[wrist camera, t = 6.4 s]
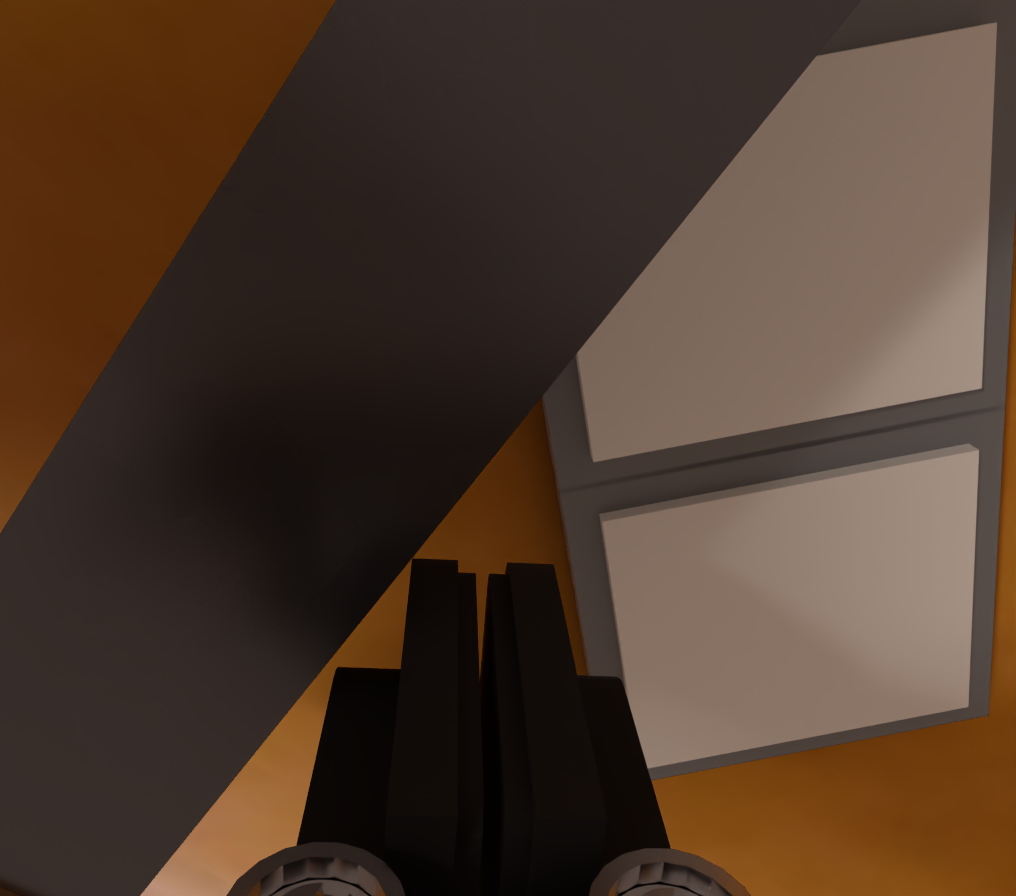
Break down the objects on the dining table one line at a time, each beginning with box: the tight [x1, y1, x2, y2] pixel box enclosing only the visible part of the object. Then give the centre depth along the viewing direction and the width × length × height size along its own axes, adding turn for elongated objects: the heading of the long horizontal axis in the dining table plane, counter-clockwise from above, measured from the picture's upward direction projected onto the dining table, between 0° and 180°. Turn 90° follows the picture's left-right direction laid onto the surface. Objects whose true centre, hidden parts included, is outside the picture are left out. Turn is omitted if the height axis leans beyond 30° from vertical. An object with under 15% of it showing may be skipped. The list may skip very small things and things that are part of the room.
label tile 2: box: [541, 0, 1016, 493], centre depth 13 cm, size 8×7×1 cm
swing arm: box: [0, 0, 861, 896], centre depth 8 cm, size 18×4×2 cm, turn 142°
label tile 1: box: [554, 405, 1005, 780], centre depth 16 cm, size 8×7×1 cm
